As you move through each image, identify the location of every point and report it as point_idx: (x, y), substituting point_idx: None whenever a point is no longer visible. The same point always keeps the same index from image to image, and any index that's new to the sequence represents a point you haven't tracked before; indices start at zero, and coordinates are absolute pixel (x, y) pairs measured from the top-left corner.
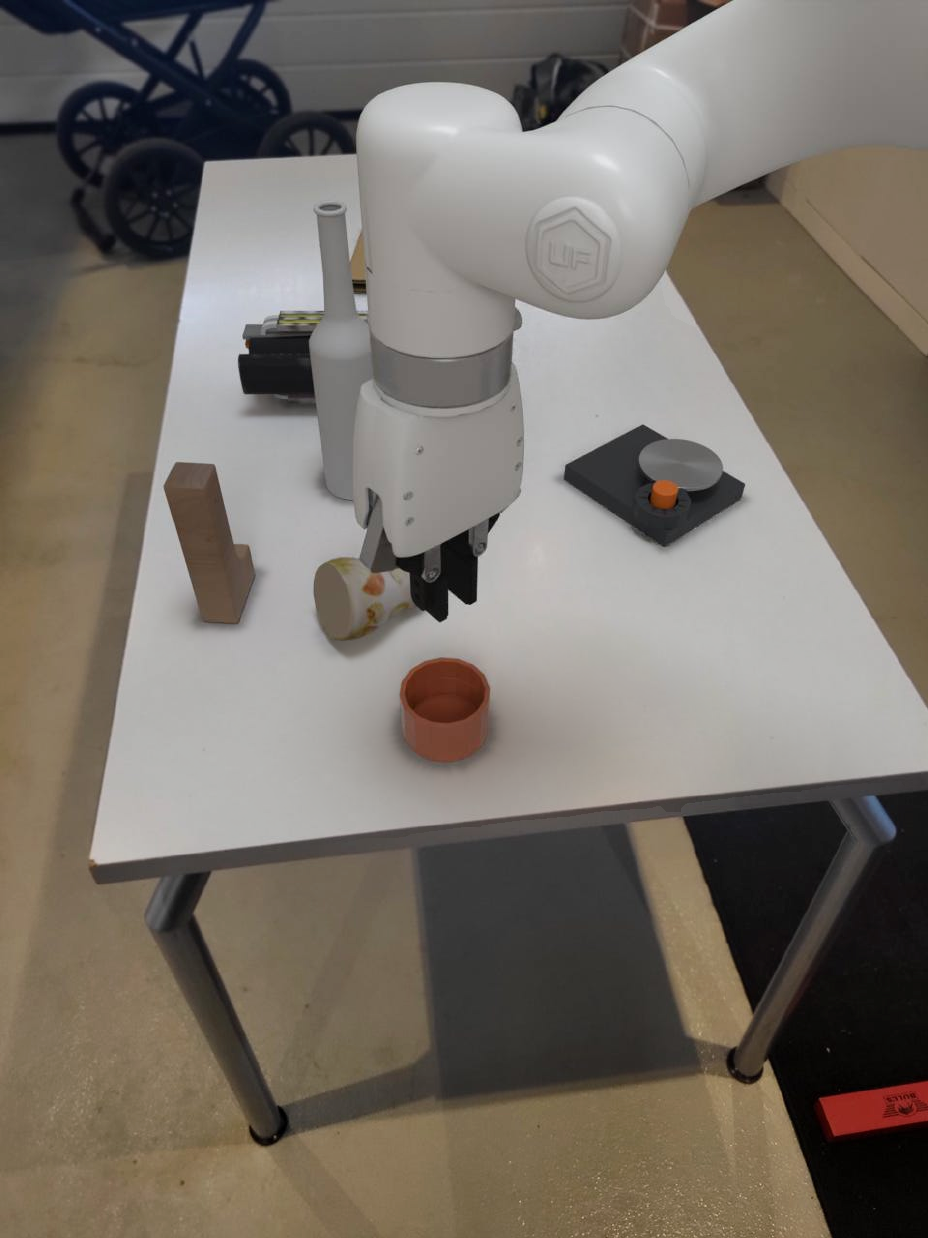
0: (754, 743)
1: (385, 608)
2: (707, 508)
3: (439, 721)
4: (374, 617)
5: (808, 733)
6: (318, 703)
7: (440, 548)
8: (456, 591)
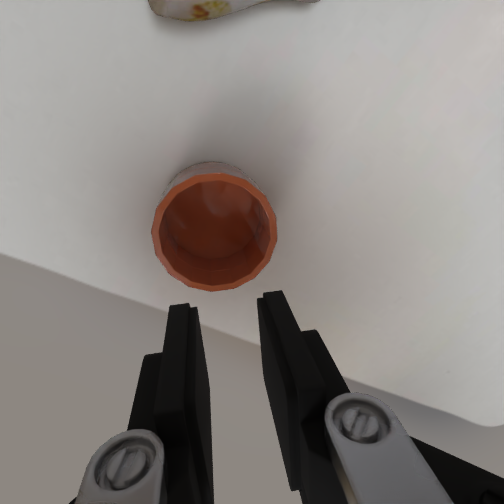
0: (433, 370)
1: (234, 8)
2: None
3: (208, 210)
4: (206, 16)
5: (472, 381)
6: (79, 80)
7: (281, 372)
8: (263, 356)
